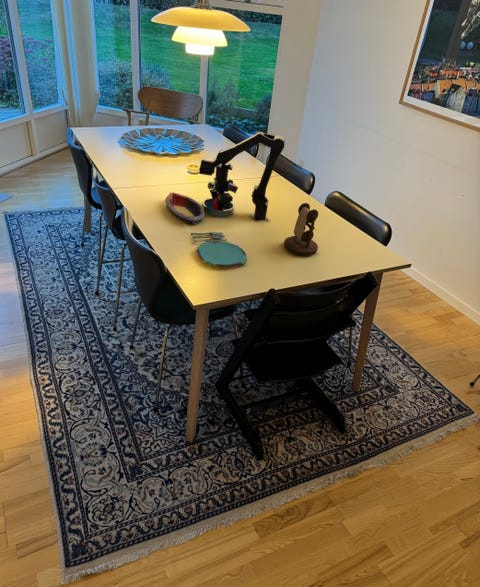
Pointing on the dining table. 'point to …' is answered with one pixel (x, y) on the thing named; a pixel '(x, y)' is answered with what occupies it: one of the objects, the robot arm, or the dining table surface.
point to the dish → (188, 203)
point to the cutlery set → (219, 251)
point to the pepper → (215, 205)
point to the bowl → (209, 210)
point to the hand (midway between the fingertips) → (218, 208)
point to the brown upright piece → (303, 232)
